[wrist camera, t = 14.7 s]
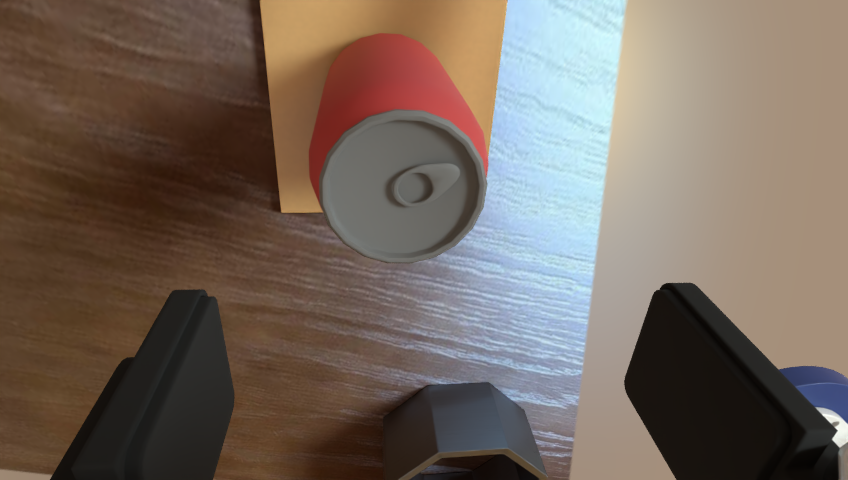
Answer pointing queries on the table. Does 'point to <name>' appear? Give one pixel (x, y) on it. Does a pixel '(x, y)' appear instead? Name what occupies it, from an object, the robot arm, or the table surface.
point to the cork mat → (336, 30)
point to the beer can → (396, 152)
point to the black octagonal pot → (460, 435)
